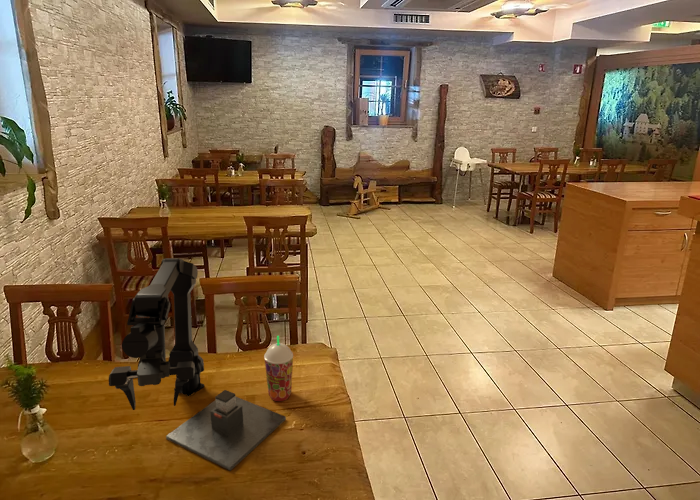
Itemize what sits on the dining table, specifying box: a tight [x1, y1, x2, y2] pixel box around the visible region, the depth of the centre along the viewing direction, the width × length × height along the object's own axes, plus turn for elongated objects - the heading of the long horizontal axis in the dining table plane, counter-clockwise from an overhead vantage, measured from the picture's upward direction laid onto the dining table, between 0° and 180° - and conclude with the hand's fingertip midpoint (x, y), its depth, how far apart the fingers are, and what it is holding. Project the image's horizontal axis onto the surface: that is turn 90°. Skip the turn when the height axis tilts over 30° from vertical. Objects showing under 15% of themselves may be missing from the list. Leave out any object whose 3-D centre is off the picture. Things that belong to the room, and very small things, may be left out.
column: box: [215, 389, 237, 416], centre depth 127 cm, size 4×4×9 cm
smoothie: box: [263, 335, 294, 402], centre depth 140 cm, size 8×8×20 cm
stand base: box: [165, 396, 287, 472], centre depth 128 cm, size 22×22×6 cm
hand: (154, 407), depth 116 cm, fingers open, 9 cm apart
